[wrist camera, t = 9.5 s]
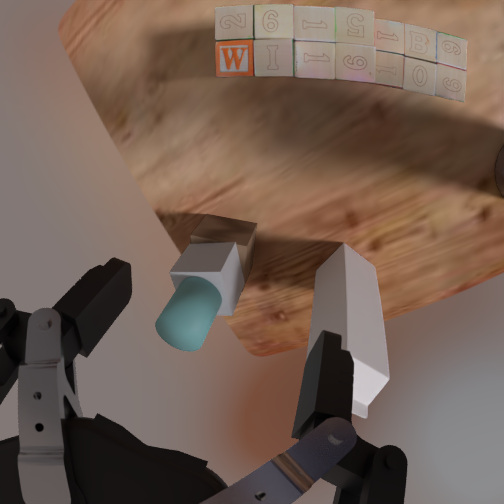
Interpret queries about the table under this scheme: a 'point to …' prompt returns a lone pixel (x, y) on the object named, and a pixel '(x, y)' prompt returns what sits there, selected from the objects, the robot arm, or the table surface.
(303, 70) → the stack of blocks
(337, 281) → the milk
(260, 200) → the table surface
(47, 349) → the robot arm
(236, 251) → the grey block
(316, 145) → the table surface
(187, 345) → the teal cylinder
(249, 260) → the walnut block
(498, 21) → the table surface
